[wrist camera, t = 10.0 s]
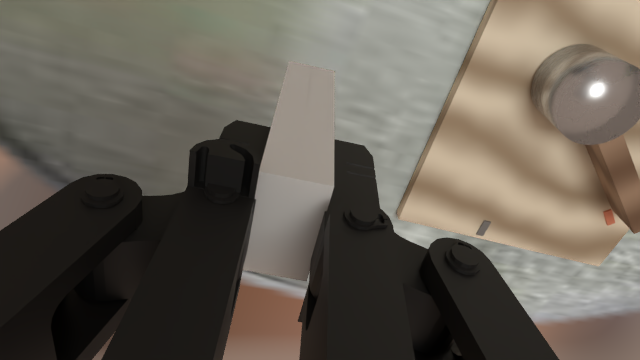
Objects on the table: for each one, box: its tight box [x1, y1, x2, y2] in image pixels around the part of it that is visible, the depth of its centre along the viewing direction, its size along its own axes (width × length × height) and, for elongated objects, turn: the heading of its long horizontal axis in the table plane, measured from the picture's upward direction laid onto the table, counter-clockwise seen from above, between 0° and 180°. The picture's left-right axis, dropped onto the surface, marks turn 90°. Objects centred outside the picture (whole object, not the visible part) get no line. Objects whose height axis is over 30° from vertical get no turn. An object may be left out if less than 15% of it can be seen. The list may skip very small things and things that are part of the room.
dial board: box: [397, 0, 640, 266], centre depth 42 cm, size 34×25×2 cm
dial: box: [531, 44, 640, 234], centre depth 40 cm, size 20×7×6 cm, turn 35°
